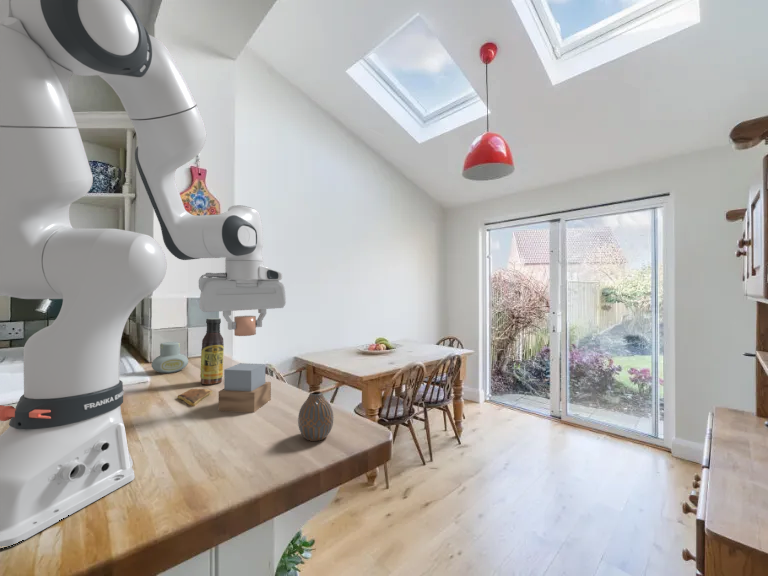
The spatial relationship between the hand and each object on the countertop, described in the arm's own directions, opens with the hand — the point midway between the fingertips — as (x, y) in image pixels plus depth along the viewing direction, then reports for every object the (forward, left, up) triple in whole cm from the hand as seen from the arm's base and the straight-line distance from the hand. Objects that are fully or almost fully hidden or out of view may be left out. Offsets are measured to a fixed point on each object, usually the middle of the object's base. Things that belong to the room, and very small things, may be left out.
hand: (245, 328), depth 87 cm
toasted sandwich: (+4, +15, -20) cm, 25 cm away
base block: (0, 0, -20) cm, 20 cm away
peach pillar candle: (0, 0, -2) cm, 2 cm away
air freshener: (+30, +43, -20) cm, 56 cm away
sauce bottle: (+18, +20, -20) cm, 33 cm away
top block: (0, 0, -15) cm, 15 cm away
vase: (-16, -23, -20) cm, 34 cm away
